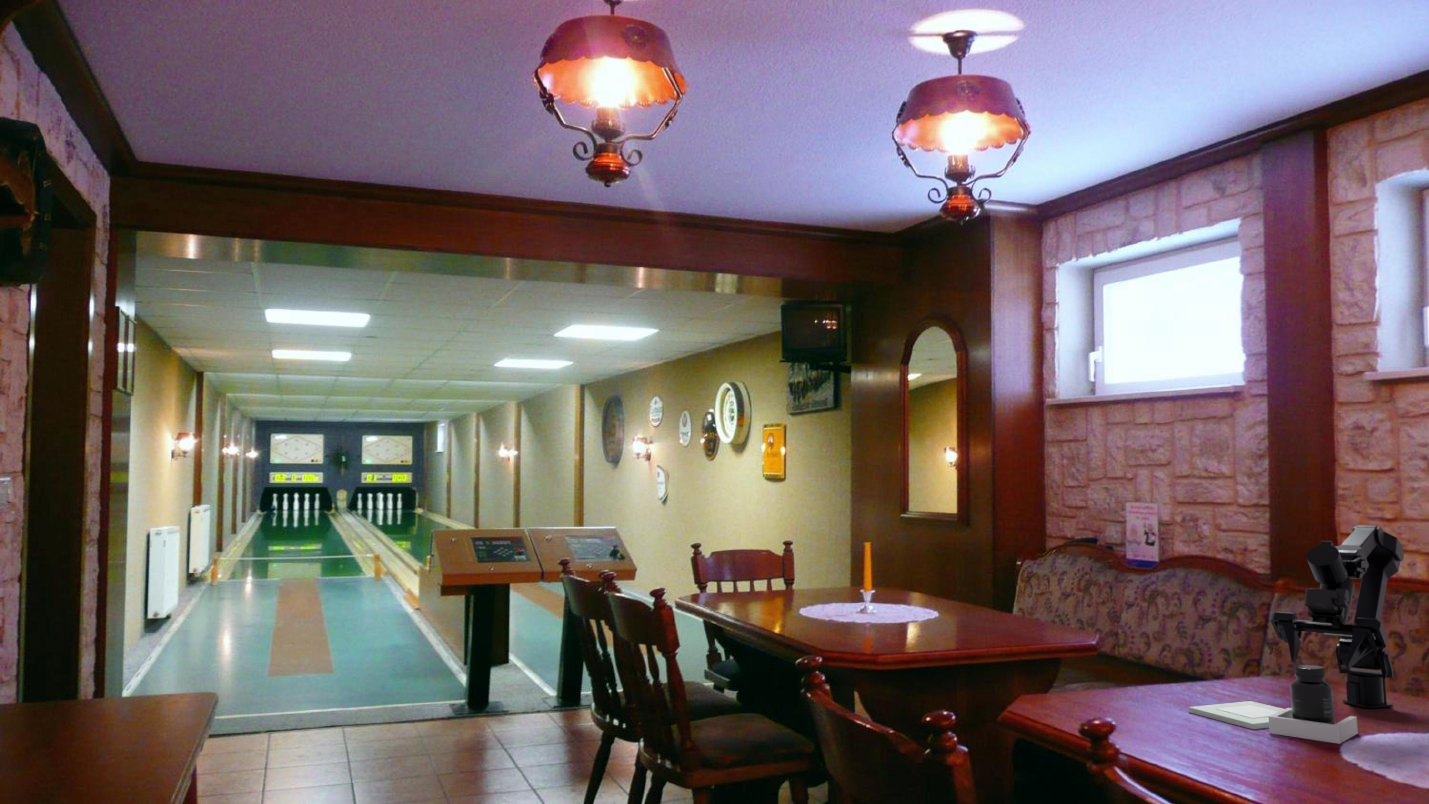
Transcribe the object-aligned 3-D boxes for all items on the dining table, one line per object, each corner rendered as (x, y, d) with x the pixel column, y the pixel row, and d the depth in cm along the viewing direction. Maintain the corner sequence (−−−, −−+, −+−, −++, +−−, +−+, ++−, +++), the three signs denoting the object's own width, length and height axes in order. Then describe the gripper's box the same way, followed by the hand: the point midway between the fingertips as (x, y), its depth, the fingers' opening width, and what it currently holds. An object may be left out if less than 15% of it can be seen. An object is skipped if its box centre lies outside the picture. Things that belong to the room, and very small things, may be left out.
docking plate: (1250, 705, 211) (1250, 700, 211) (1318, 722, 196) (1317, 716, 196) (1188, 712, 206) (1188, 706, 206) (1253, 729, 191) (1252, 723, 191)
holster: (1289, 723, 195) (1288, 707, 195) (1357, 733, 187) (1356, 716, 187) (1269, 733, 188) (1268, 716, 188) (1339, 743, 179) (1338, 726, 180)
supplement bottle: (1324, 728, 191) (1320, 663, 192) (1343, 737, 184) (1339, 669, 185) (1286, 728, 191) (1282, 663, 192) (1303, 737, 185) (1299, 669, 186)
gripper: (1271, 570, 204) (1254, 632, 196) (1378, 575, 191) (1365, 641, 182) (1286, 607, 209) (1271, 668, 200) (1393, 614, 195) (1381, 680, 187)
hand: (1319, 664), depth 192 cm, fingers open, 9 cm apart
